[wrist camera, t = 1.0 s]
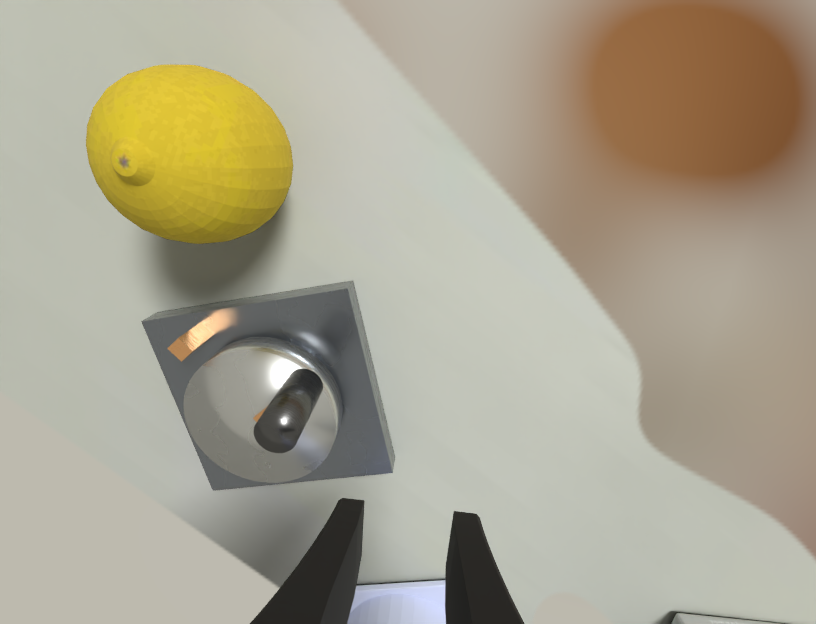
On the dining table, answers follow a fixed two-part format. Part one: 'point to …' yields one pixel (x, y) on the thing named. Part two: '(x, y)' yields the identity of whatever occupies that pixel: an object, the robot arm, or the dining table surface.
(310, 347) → the dial plate
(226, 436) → the dial
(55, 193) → the dining table surface
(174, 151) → the lemon
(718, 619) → the skincare box
